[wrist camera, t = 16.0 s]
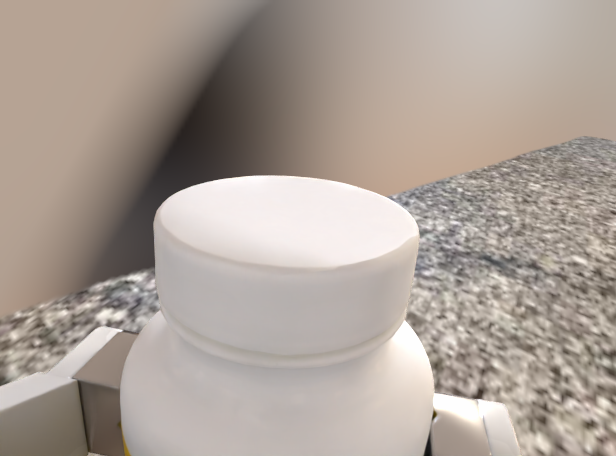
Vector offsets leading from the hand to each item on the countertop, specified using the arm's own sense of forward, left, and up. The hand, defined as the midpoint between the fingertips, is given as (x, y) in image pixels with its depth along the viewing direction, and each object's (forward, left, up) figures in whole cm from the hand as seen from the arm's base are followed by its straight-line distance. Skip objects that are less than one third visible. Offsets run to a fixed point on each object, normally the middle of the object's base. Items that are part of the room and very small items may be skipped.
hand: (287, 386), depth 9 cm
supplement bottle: (0, -1, -6) cm, 6 cm away
